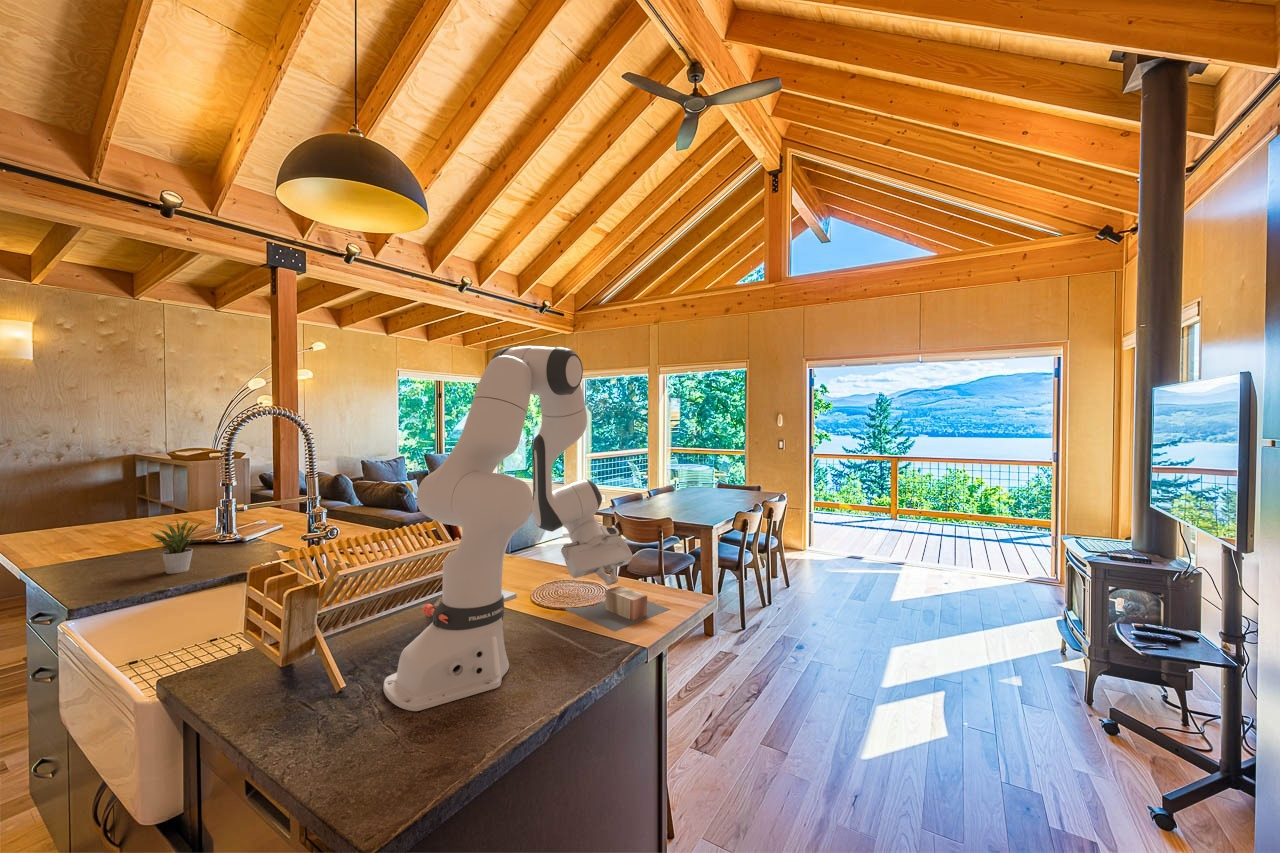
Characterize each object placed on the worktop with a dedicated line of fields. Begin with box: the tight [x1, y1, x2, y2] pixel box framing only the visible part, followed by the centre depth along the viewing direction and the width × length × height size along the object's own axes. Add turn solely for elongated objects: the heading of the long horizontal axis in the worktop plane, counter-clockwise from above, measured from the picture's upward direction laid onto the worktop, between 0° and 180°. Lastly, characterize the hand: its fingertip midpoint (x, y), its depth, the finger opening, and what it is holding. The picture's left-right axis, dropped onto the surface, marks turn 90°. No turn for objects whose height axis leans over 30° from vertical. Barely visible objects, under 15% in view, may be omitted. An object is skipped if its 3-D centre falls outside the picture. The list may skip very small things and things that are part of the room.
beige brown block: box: [605, 585, 648, 620], centre depth 130 cm, size 5×5×10 cm
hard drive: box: [502, 589, 517, 603], centre depth 138 cm, size 2×8×12 cm
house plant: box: [149, 519, 212, 575], centre depth 160 cm, size 14×14×16 cm
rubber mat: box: [564, 600, 671, 632], centre depth 132 cm, size 20×19×1 cm
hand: (613, 583), depth 133 cm, fingers closed
